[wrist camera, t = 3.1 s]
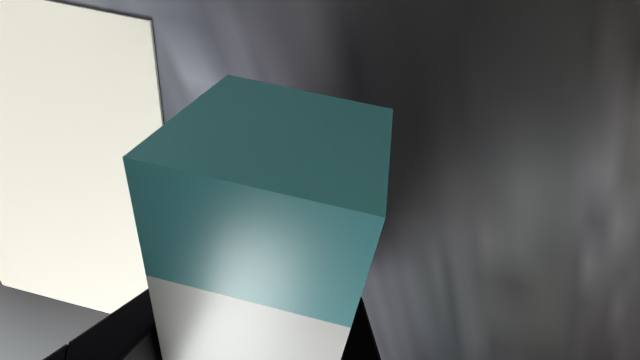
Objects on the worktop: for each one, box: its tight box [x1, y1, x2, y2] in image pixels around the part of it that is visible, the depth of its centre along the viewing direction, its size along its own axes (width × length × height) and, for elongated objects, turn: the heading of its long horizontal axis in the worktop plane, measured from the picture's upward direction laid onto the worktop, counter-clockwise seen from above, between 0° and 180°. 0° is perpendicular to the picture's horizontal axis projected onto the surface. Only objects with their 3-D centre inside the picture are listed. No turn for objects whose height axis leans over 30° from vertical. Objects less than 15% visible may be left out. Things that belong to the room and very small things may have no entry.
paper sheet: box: [0, 0, 164, 314], centre depth 16 cm, size 16×11×1 cm
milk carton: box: [122, 75, 393, 360], centre depth 9 cm, size 10×4×4 cm, turn 172°
